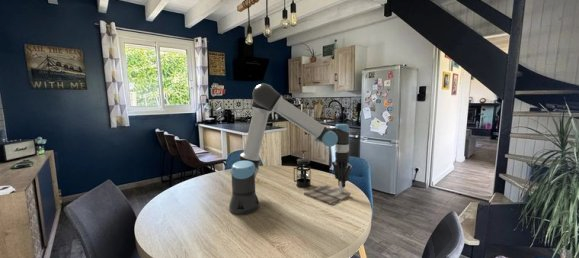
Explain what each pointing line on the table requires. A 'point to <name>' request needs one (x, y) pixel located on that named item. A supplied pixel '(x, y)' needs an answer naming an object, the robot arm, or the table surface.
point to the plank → (332, 191)
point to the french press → (303, 172)
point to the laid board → (322, 197)
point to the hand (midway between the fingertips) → (341, 192)
